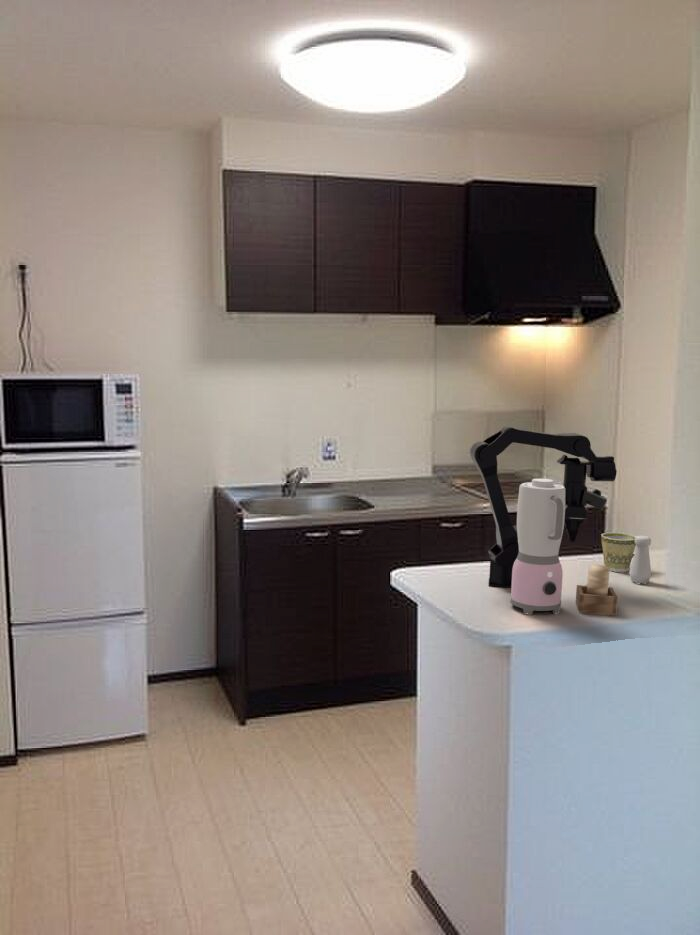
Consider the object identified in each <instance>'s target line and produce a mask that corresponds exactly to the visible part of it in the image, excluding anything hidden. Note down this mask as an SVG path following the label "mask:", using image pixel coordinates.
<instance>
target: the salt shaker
mask: <svg viewBox="0 0 700 935" xmlns="http://www.w3.org/2000/svg"><path fill="white" fill-rule="evenodd" d="M635 536H636V537H635V544H636V546H635V549H634V553H633V554H634V556H633V558H632V560H631V564H630V568H629V571H628V572H629V573H628V574H629V576H630V581H631V582H632V583H633V582H635V583H634V584H636V583H642V584H641V585H646V584H645V583H647V584H648V583H649V581H651V578H652V568H651V559H650V550H649V546H651V544H652V539H651V537H650V536H647V535H642V534H641V535H635Z"/></svg>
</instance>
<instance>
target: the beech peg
mask: <svg viewBox="0 0 700 935" xmlns="http://www.w3.org/2000/svg"><path fill="white" fill-rule="evenodd" d="M610 572H611V571H610V568H609V567H607V566H604V564H603V565H601V564H590V565H588V571H587V584H586V586H587V593H586V594H590V595H605V596H607V595H608V587H609V582H610Z"/></svg>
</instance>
